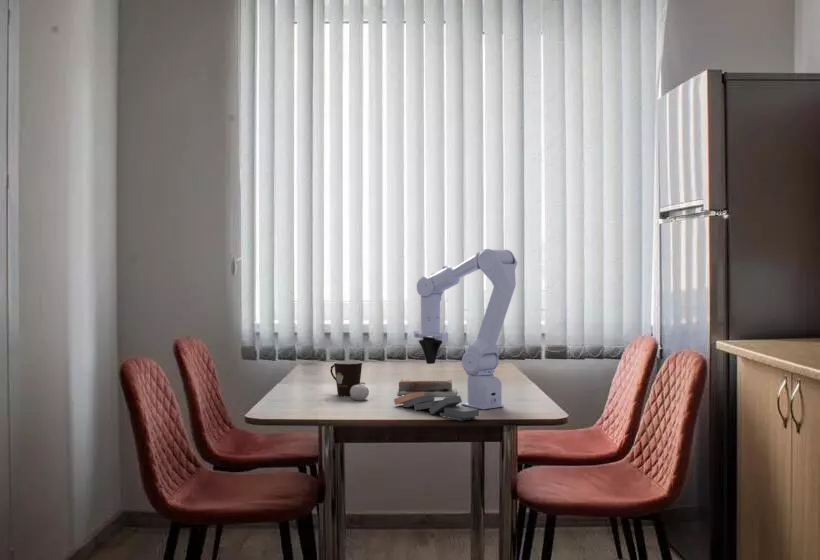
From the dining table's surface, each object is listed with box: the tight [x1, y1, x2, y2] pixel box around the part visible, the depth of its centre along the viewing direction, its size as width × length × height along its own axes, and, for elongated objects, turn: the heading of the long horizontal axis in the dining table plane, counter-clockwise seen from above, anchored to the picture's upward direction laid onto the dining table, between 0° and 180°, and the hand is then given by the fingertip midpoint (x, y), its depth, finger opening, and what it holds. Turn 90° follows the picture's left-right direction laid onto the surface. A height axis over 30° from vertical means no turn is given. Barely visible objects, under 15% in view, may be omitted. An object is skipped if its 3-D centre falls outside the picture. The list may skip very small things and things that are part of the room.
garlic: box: [350, 381, 370, 401], centre depth 217 cm, size 6×5×5 cm
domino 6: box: [439, 412, 476, 422], centre depth 189 cm, size 2×5×8 cm
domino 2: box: [402, 395, 436, 408], centre depth 202 cm, size 2×5×8 cm
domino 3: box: [413, 399, 442, 411], centre depth 198 cm, size 2×5×8 cm
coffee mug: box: [330, 360, 363, 397], centre depth 227 cm, size 12×9×10 cm
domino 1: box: [393, 392, 425, 405], centre depth 205 cm, size 2×5×8 cm
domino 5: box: [444, 404, 480, 418], centre depth 188 cm, size 2×5×8 cm
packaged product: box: [396, 378, 458, 397], centre depth 228 cm, size 18×5×10 cm
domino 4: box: [428, 395, 463, 415], centre depth 192 cm, size 2×5×8 cm
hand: (430, 363), depth 218 cm, fingers closed
